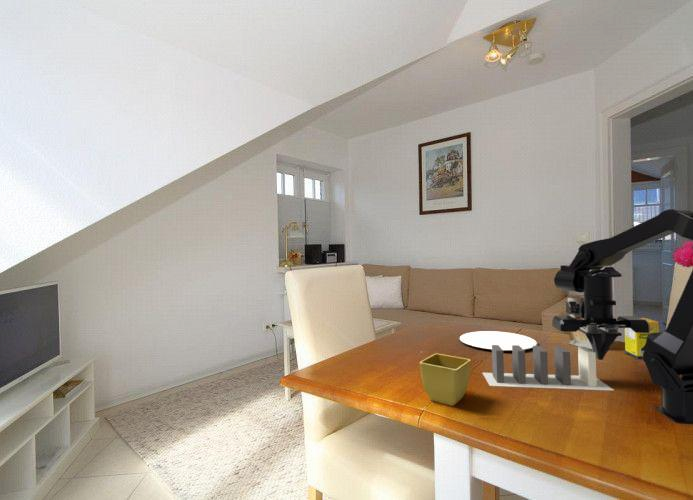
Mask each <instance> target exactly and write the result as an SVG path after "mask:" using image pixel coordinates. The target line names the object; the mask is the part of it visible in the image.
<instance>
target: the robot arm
mask: <svg viewBox="0 0 693 500" xmlns="http://www.w3.org/2000/svg"><path fill="white" fill-rule="evenodd" d="M673 234H677V235H679V236H680V237H682V238H685V239H688V240H691V241H693V211H692V210H690V209H688V208H673V209H672V208H671V209H670V208H669V209H666V210H663V211H661V212H660V213H659V214H657V215H655V216H653V217H651V218H649V219H647V220H646V221H642V222H640V223H639V224H636V225H634V226H633V227H630V228H628V229H626V230H624V231H622V232H620V233H617V234H616V235H612V236H611V237H609V238H604V239H598V240H594V241H590V242H587V243H583V244H581V245H580V246H579V247H578V252H577V253H576V255H575V256H574V258H573V260H572V261H571V263H569V264H564V265H562V264H561V265H560V269H559V270H558V271H557V272H556V274H555V276H554V278H553V279H554V280H553V281H554V282H553V283H554V286H556V288H557V289H558V290H560V291H568V292H573V293H581V294H582V293H583V296H584V297H581V304H577V303H576V302H575V301H568V300H567V301H566V302H565V312H566V314H567V315H554V317H553V318H552V319H551V320H552V322H551V324H552V327H553V328H555V329H557V330H558V331H559V332H568V333H569V332H576V331H577V330H579V331H580V332H582V333H584V334H585V335H586V336H587V338H588V340H589V342H590V344H591V346H592V349H591V350H592V351H594V352H595V353H596V360H598V361H603V360H604V358H605V356H606V354H607V352H608V351H609V349H610V348H611V346H612V344H613V343H614V342H615V341H616V339H617V338H618V337H621V336H622V333H621V332H619V329H625V328H631V329H632V330H633V331H634V332H636V333H649V332H650V325H649V323H648V322H647V321H646V320H644V319H641V318H642V317H638V316H635V315H633V316H631V315H622V316H621V315H619V316H617V318H616V317H614V306H617V300H614V298H613V278H621V277H622V276H623V275H622V273H620V272H619V271H618V270H616V269H615V267H614V266H613V265H615V264H617V263H618V262H620V261H621V260H623V258H624V257H625V256H626V255H627V254H628V253H630V252H632V251H635V250H637V249H639V248H642V247H644V246H646V245H648V244H651V243H654V242H655V241H658V240H660V239H663V238H666V237H667V236H670V235H673ZM691 250H692V252H693V244H692V245H691ZM689 274H690V275H689V276H688V280H687V281H686V284H685V286H684V289H683V291H682V293H681V294H680V297H679V299H678V302H677V304H676V306H675V309H674V311H673V313H672V315H671V316H670V317H671V318H670V320H669V322H668V325H667V326H666V328H665V330H664V331H659V332H657V333H649V335H648V336H647V340H646V344H645V345H644V347H643V348H641V350H642V351H644V353H643V359H642V361H643V362H644V364H645V366H646V369H647V370H648V373H649V376H650V380H651V382H652V384H653V385H656V386H659V388H661V405H662V406H653V409H654V410H656V411H657V412H659V413H661V414H662V415H663V416H665V417H666V418H668V419H669V420H671V421H672V422H674V423H675V424H680V425H681V424H683V425H684V424H685V425H693V269H692V270H691V272H690V273H689ZM568 314H574V315H575V318H573V317H571V316H568ZM580 318H584V320H578V319H580ZM591 323H592V324H591ZM593 323H594V324H593ZM595 323H596V324H595Z"/></svg>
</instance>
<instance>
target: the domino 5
mask: <svg viewBox="0 0 693 500" xmlns="http://www.w3.org/2000/svg"><path fill="white" fill-rule="evenodd" d="M577 352H578V353H577V356H578V357H577V359H578V362H577V363H578V376H579V379H580V380H582V381H583V382H584V383H586V384H587V385H588V386H597V385H596V378H597V361H596V360H597V358H596V353H595V352H594V351H593V349H588V348H587V347H580V346H577Z"/></svg>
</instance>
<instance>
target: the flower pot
mask: <svg viewBox="0 0 693 500" xmlns="http://www.w3.org/2000/svg"><path fill="white" fill-rule="evenodd" d="M471 365H472V360H471V359H470V358H465V357H460V356H453V355H448V354H443V353H437V352H436V353H434V354H432V355H429V356H427V357H426V358H424V359H423V360H421V361H420V362H419V369H420V376H421V380H422V381H421V382H422V386H423V389H424V391H425V393H426V394H427V397H429V399H430V400H431V401H432V402H435V403H438V404H443V405H447V406H450V407H454V406H455V405H456V404H457V403H458V402H459V401H461V400H462V399H463V397H464V396H465V394H466V392H467V389H468V386H469V383H470V377H471V376H470V375H471V374H470V373H471Z"/></svg>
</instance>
